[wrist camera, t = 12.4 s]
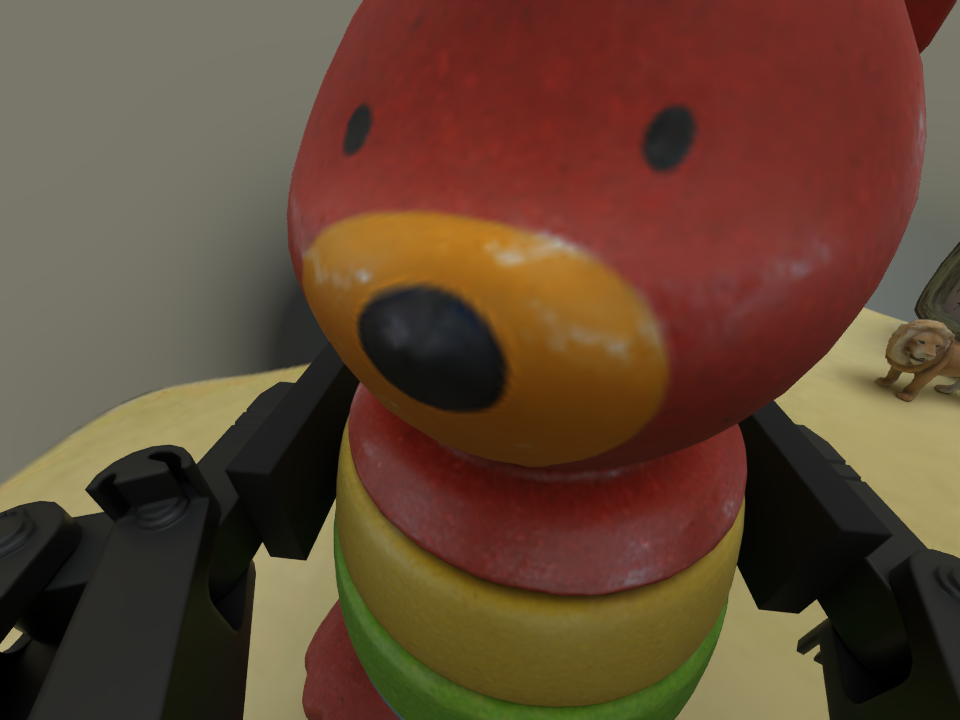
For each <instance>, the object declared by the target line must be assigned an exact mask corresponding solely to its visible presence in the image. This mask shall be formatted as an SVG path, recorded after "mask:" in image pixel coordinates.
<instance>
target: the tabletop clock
mask: <svg viewBox="0 0 960 720" xmlns="http://www.w3.org/2000/svg"><path fill="white" fill-rule="evenodd" d="M914 310H915V313H916V315H917V317H918V318H919V319H922V320H924V319H928V320H933V321H938V322H941V323H944V324H945V326H946V327H947V329H949V330H950V331H951V332H952V334H954V335H955V337H954V338H955V339H956V341H957V342H959V343H960V242H959V243H958V244H957V246H956V247H955V248H954V249H953V250H952V252H951V253H950V254H949V255H948V256H947V257H946V259H945V260H944V261H943V262H942V263H941V265H940V266H939V268H938V269H937V271H936V272H935V274H934V275H933V277H932V278H931V279H930V281H929V282H928V284H927V285H926V287H925V288H924V290H923V292H922V293H921V295H920V297H919V299H918V301H917V304H916V306H915V309H914Z"/></svg>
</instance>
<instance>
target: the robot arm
mask: <svg viewBox="0 0 960 720" xmlns="http://www.w3.org/2000/svg"><path fill="white" fill-rule="evenodd" d="M359 383H360V381H359V380H358V378H357V377H356V376H355V375H354V374H353V373H352V372H351V370H350V369H349V368H348V367H347V366H346V365H345V363H344V362H343V361H342V359H341V358H340V356H339V355H338V353H337V352H336V350H335V349H334V347H333V346H332V344H331V343H330V341H329V342H328V344H327V345H326V346H325V347H324V349H323V350H322V351H321V352H320V354H319V355H318V356H317V357H316V358H315V360H314V361H313V362H312V363H311V365H310V366H309V367H308V368H307V369H306V371H305V372H304V373H303V374H302V376H301V377H300V378H299V379H298V380H297V382H296V383H290V382H279V383H277V384H276V385H274V386H272V387H271V388H269V389H268V390H266V391H264V392H263V393H261V394H260V395H259V396H258V397H257V398H256V399H255V401H254V402H253V403H252V404H251V405H250V406H249V407H248V408H247V412H244V413H243V414H242V415H241V416H240V417H239V418H238V419H237V420H236V421H235V425H232V426H231V427H230V428H229V429H228V430H227V431H226V432H225V434H224V435H223V436H222V437H221V438H220V439H219V440H218V441H217V442H216V443H215V445H214V446H213V447H212V448H211V449H210V450H209V451H208V452H207V453H206V454H205V456H204V457H203V458H202V459H201V460H200V461H199V462H198V463H197V464H196V463H195V462H194V460H193V458H192V456H191V455H190V454H189V453H188V452H187V451H186V450H185V449H184V448H183V447H178V446H174V445H162V446H153V447H149V448H146V449H143V450H140V451H136V452H133V453H131V454H129V455H127V456H125V457H123V458H121V459H119V460H117V461H115V462H114V463H112V464H111V465H109V466H108V467H107V468H106V469H104V470H103V471H102V472H100V473H99V474H98V475H96V477H95V478H94V479H93V480H92V481H91V483H90V484H89V485H88V486H87V488H86V489H85V490H86V491H87V493H88V494H89V495H90V496H91V497H92V498H93V499H94V500H95V502H96V503H97V504H98V505H99V506H100V507H101V508H102V509H103V510H104V512H101V513H95V514H90V515H84V516H79V517H73V518H72V517H71V516H70V515H69V514H68V513H67V512H66V511H65V510H64V509H63V508H62V507H60V506H59V505H58V504H57V503H55V502H46V501H38V502H33V503H28V504H23V505H19V506H16V507H14V508H11V509H9V510H6V511H4V512H1V513H0V644H1V642H2V641H3V640H4V638H5V637H6V636H7V635H8V633H9V632H10V631H11V629H12V628H13V627H14V628H16V629H17V630H19V631H21V632H22V633H23V634H22V635H21V637H20V638H19V639H18V640H17V641H16V642H15V643H14V644H13V645H12V646H11V647H10V648H9V649H8V650H6V651H4V652H0V720H243V713H244V702H245V690H246V679H247V668H248V657H249V645H250V634H251V623H252V612H253V600H254V589H255V578H256V571H255V564H254V562H253V560H252V559H253V557H254V556H255V554H256V552H257V550H258V549H259V547H260V545H261V544H262V542H263V543H264V545H265V547H266V549H267V551H268V553H269V555H270V556H271V557H278V558H288V559H297V560H307V558H308V556H309V554H310V551H311V549H312V547H313V545H314V543H315V541H316V539H317V537H318V534H319V532H320V530H321V528H322V526H323V524H324V522H325V519H326V517H327V515H328V513H329V511H330V509H331V507H332V505H333V502H334V500H335V498H336V488H337V472H338V461H339V453H340V447H341V442H342V437H343V432H344V428H345V425H346V422H347V419H348V417H349V414H350V407H351V404H352V401H353V398H354V395H355V393H356V390H357V387H358V385H359ZM738 425H739V428H740V430H741V433H742V437H743V440H744V444H745V449H746V461H747V480H746V487H745V494H744V496H745V512H744V527H743V534H742V540H741V545H740V550H739V556H738V561H737V566H738V568H739V570H740V572H741V574H742V576H743V578H744V581H745V583H746V585H747V587H748V589H749V591H750V593H751V595H752V597H753V599H754V601H755V603H756V605H757V607H758V609H759V610H769V611H778V612H787V613H796V614H799V613H800V612H802V611H803V610H804V609H805V608H806V607H808V606H809V605H810V604H811V603H812V602H814V601H815V600H816V599H817V600H818V602H819V603H820V605H821V607H822V608H823V610H824V612H825V613H826V615H827V616H828V618H827V619H826V620H824V621H823V622H822V623H820V624H819V625H818V626H816V627H815V628H814V629H812V630H811V631H810V632H808V633H807V634H806V635H804V636H803V637H802V638H801V639H800V640H798V645H797V652H799V653H801V654H803V655H804V654H805V653H807V652H808V651H810V650H811V649H813V648H814V647H815V646H817V645H818V644H820V652H818V653H817V655H816V656H815V657H814V661H816V662H818V663H819V664H821V665H822V666H823V673H824V681H825V688H826V695H827V703H828V710H829V717H830V720H960V558H957V557H955V556H953V555H950V554H947V553H943V552H940V551H937V550H933V549H928V548H927V547H926V546H925V545H924V544H923V543H922V542H921V541H920V540H919V539H918V538H917V537H916V536H915V534H914V533H913V532H912V531H911V530H910V529H909V528H908V527H907V526H906V525H905V524H904V523H903V522H902V521H901V520H900V518H899V517H898V516H897V515H896V514H895V513H894V512H893V511H892V510H891V509H890V508H889V507H888V506H887V505H886V504H885V503H884V501H883V500H882V499H881V498H880V497H879V496H878V495H877V494H876V493H875V492H874V491H873V490H872V489H871V488H870V487H869V485H868V484H867V483H866V482H862V481H861V477H860V476H859V475H858V474H857V473H856V472H855V471H854V470H853V468H852V467H851V466H850V465H846V464H845V462H846V461H845V460H844V459H843V458H842V457H841V456H840V455H839V454H838V452H837V451H836V450H835V449H834V448H833V447H832V446H831V445H830V444H829V443H828V442H827V441H825V440H824V439H823V438H821V437H820V436H818V435H817V434H815V433H814V432H813V431H811V430H810V429H808V428H807V427H805V426H804V425H796V424H794V423H793V422H792V420H791V419H790V418H789V417H788V416H787V415H786V414H785V413H784V411H783V410H782V409H781V408H780V407H779V406H778V405H777V404H776V402H775V401H774V400H773V401H771V402H770V403H768V404H767V405H765V406H764V407H762V408H761V409H759V410H758V411H756V412H755V413H753V414H752V415H750V416H749V417H747V418H746V419H744V420H743V421H741V422H740V423H738Z"/></svg>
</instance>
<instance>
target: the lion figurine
mask: <svg viewBox="0 0 960 720" xmlns="http://www.w3.org/2000/svg"><path fill="white" fill-rule="evenodd" d="M954 337H955V335H954V334H952V332H951V331H950V330H949V329H947V327H946V326H945V324H944V323H941V322H938V321H933V320H928V319H924V320H922V319H919V320H914V321H911V322H910V323H908V324H902V325H900V326H899V328H898V330H896V331H895V332H894V333H893V334H892V337H891V338H890V339H889V342H888V345H887V349H886V356H885V358H886V359H887V362H888V363H889V364H890V365H892V366H891V368H890V370H889V372H888V375H887V376H886V378H878V379H876V383H878V384H879V385H882V386H889V385H891V384H892V383H894V382H895V381H896V380H897V379H898V378H899V376H900V374H901V373H902V372H907V373H914V374H915V376H914V379H913V381H912V382H911V383H910V384H909V385H908V386H907V387H906V388H904V389H903V390H902V392H898V393H897V396H898V398H901V399H903V400H905V401H911V400H912V399H913V398H914V397H915V396H916V395H917V393H918V392H919V390H920V389H921V388H922V387H923V386H925V385H926V384H927V383H928V382H930V381H931V380H932V379H933V378H934V377H936V376H937V375H941V376H947V377H960V343H959V342H957V341H956V339H955V338H954ZM935 388H936V389H937V390H938V391H941V392H944V393H952V392H954V391H957V390H960V379H959V381H957V382H956V383H954V384H952V385H936V386H935Z"/></svg>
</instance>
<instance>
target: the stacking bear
mask: <svg viewBox="0 0 960 720" xmlns="http://www.w3.org/2000/svg"><path fill="white" fill-rule="evenodd" d="M956 1H957V0H363V2H362V3H361V5H360V7H359V8H358V10H357V11H356V13H355V14H354V16H353V18H352V20H351V22H350V24H349V26H348V28H347V30H346V33H345V34H344V37H343V39H342V41H341V43H340V45H339V47H338V49H337V52H336V54H335V56H334V58H333V60H332V62H331V64H330V66H329V69H328V70H327V73H326V75H325V77H324V79H323V82H322V85H321V87H320V90H319V92H318V95H317V98H316V100H315V103H314V106H313V109H312V111H311V114H310V117H309V120H308V122H307V125H306V128H305V132H304V135H303V139H302V142H301V145H300V149H299V152H298V156H297V159H296V162H295V166H294V169H293V173H292V178H291V184H290V191H289V199H288V210H287V224H288V244H289V251H290V255H291V259H292V264H293V268H294V272H295V275H296V278H297V280H298V282H299V284H300V287H301V289H302V291H303V294H304V296H305V298H306V300H307V302H308V304H309V306H310V308H311V310H312V312H313V314H314V316H315V318H316V320H317V321H318V323H319V325H320V327H321V329H322V331H323V332H324V333H325V335H326V337H327V338H328V340H329V341H330V343H331V344H332V346H333V347H334V349H335V350H336V352H337V353H338V355H339V356H340V358H341V359H342V361H343V362H344V363H345V365H346V366H347V367H348V368H349V369H350V370H351V372H352V373H353V374H354V375H355V376H356V377H357V378H358V380H359V381H360V383H359V385H358V387H357V390H356V393H355V395H354V398H353V401H352V404H351V407H350V414H349V417H348V419H347V422H346V425H345V428H344V432H343V437H342V442H341V447H340V453H339V461H338V472H337V488H336V512H335V521H334V559H335V570H336V581H337V587H338V593H339V600H338V601H337V602H336V604H335V605H334V606H333V608H332V609H331V610H330V612H329V613H328V615H327V616H326V618H325V619H324V620H323V622H322V623H321V625H320V626H319V628H318V630H317V631H316V633H315V635H314V637H313V639H312V641H311V643H310V645H309V646H308V649H307V652H306V655H305V668H306V671H307V677H306V681H305V685H304V691H303V700H302V703H303V708H304V712H305V715H306V717H307V718H308V720H674V719H675V718H676V717H677V716H678V714H679V713H680V712H681V710H682V709H683V707H684V706H685V704H686V703H687V701H688V700H689V698H690V697H691V695H692V694H693V692H694V690H695V688H696V686H697V684H698V682H699V681H700V679H701V677H702V675H703V673H704V671H705V669H706V667H707V665H708V663H709V661H710V658H711V656H712V654H713V651H714V649H715V647H716V644H717V641H718V638H719V635H720V632H721V629H722V625H723V621H724V617H725V614H726V609H727V603H728V594H729V591H730V588H731V585H732V581H733V577H734V573H735V569H736V565H737V561H738V556H739V550H740V545H741V540H742V534H743V527H744V512H745V496H744V494H745V487H746V480H747V461H746V449H745V444H744V440H743V437H742V433H741V430H740V428H739V425H738V423H740V422H741V421H743V420H744V419H746V418H747V417H749V416H750V415H752V414H753V413H755V412H756V411H758V410H759V409H761V408H762V407H764V406H765V405H767V404H768V403H770V402H771V401H773V400H775V399H776V398H778V397H779V396H781V395H782V394H784V393H785V392H786V391H787V390H788V389H789V388H790V387H791V386H793V385H794V384H795V383H796V382H797V381H798V380H799V379H800V378H801V377H802V376H803V375H804V374H806V373H807V372H808V371H809V370H810V369H811V368H812V367H813V366H814V365H815V364H816V363H817V362H818V361H820V360H821V359H822V358H823V357H824V356H825V355H826V354H827V353H828V352H829V351H830V349H831V348H832V347H833V346H834V344H835V343H836V342H837V341H838V339H839V338H840V337H841V336H842V334H843V333H844V332H845V331H846V329H847V328H848V327H849V326H850V324H851V323H852V322H853V321H854V319H855V318H856V317H857V316H858V314H859V313H860V311H861V310H862V308H863V307H864V306H865V304H866V303H867V301H868V300H869V299H870V297H871V296H872V294H873V293H874V291H875V290H876V289H877V287H878V285H879V283H880V281H881V280H882V278H883V276H884V274H885V272H886V270H887V268H888V266H889V264H890V263H891V261H892V259H893V257H894V255H895V252H896V250H897V248H898V246H899V244H900V241H901V239H902V237H903V235H904V232H905V230H906V227H907V225H908V222H909V220H910V217H911V214H912V212H913V209H914V207H915V204H916V201H917V199H918V193H919V186H920V179H921V172H922V165H923V158H924V151H925V144H926V107H925V93H924V79H923V65H922V61H921V57H920V53H921V52H922V51H923V50H924V49H925V48H926V47H927V46H928V45H929V44H930V42H931V41H932V39H933V38H934V36H935V34H936V33H937V31H938V30H939V28H940V27H941V25H942V23H943V22H944V20H945V19H946V17H947V16H948V14H949V13H950V11H951V9H952V8H953V6H954V5H955V3H956Z"/></svg>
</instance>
